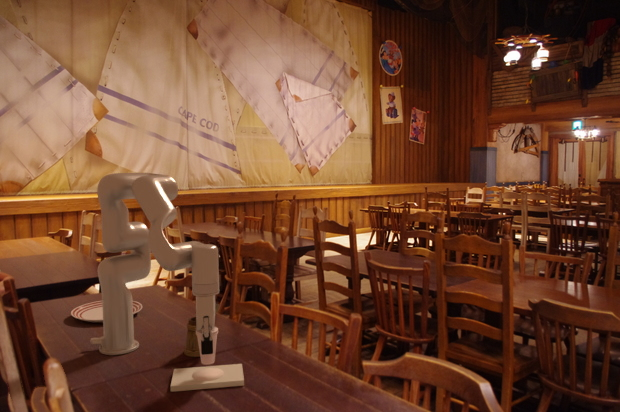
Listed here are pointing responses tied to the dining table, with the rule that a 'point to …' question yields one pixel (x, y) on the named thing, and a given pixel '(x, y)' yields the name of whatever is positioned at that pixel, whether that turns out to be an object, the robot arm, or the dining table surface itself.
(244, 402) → the dining table surface
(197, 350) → the wooden mug
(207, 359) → the smoothie
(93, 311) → the dinner plate
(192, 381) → the serving board
